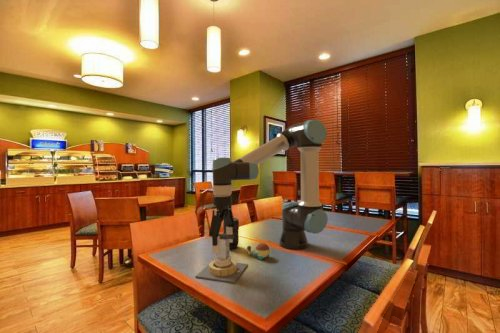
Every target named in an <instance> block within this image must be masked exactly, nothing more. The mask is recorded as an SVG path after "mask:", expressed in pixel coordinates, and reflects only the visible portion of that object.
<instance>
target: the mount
mask: <svg viewBox="0 0 500 333" xmlns="http://www.w3.org/2000/svg"><path fill="white" fill-rule="evenodd" d="M247 267H248V263H241V262H237V261H236V260H234V259H232V258H231V266H230V267H227V268H216V267H215V259H213V260H212V261H211V262H209V264H207V265H206V266H205V267H204V268H203V269H202V270H201V271H200V272H198V273H197V274H196V275H195V279H201V280H202V279H204V280H210V281H216V282H223V283H231V284H235V283H236V282H237V280H238V279H239V278H240V277H241V275H242V274H243V272H244V271H245V270H246V268H247Z"/></svg>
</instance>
